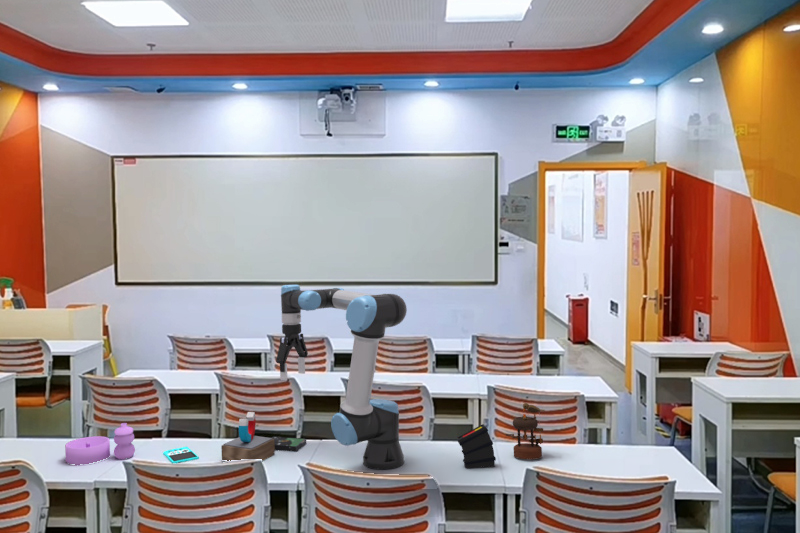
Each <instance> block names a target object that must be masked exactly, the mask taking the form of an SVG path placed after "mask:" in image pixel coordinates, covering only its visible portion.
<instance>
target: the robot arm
mask: <svg viewBox="0 0 800 533" xmlns="http://www.w3.org/2000/svg"><path fill="white" fill-rule="evenodd" d="M280 290H281V291H280V304H281V306H280V307H281V324H282V325H281V331H282V332H281V333H282V334H283V335H284V337H280V338H279V346H278V350H277V355H276V360H275V362H276V363H277V364H279V374H280V376H279V379H280V381H288V363H287V361H288V360H287V359H288V357H289V354H290V352H291V350H292V349H293V348H294V350H295V351H296V353H297V355H298V358H297V362H298V363H297V367H298V369H297V370H298V371H297V372H298V374H306V362H305V360H306V359H305V358H307V357H308V354H309V353H308V348H307V346H306V341H305V339H304V333H302V324H301V322H302V313H301V312H302V311H306V312H310V311H316V310H319V309H320V310H321V309H337V310H343V311H346V312H345V319H346V321H347V323H346V325H347V326H348V328H349V329H350V334H351V335H352V336H353V337H354V338H353V345H352V353H351V361H350V366H349V373H348V381H347V388H346V395H345V400H343V401H342V402H341V403H340V405H339V406H340V407H339V412H336V413H335V414H334V415H332V418H331V419H330V420H331V422H330V425H331V431H332V434H333V436H334V438H335V440H336V441H337V442H339V444H341V445H343V446H347V447H348V446H352V445H353V446H355V445H357V444H359V443H362V442H366V441H367V443H366V446H365V450H364V454H363V457H362V461H363V462H362V464H363V465H364V467H367V468H369V469H374V470H390V469H391V470H392V469H396V468H399V467H401V466H402V465H404V463H405V460H404V459H405V455H404V453H403V450H402V446H401V444H400V437H399V436H400V412H399V404H398V403H397V402H395V401H394V400H389V399H380V398H373V399H372V398H371V396H372V390H373V383H374V376H375V369H376V364H377V363H376V362H377V359H378V358H377V356H378V349H379V342H380V341H381V340H382V339H384V338H385V334H386V329H387V328H392V327H396V326H398V325H400V324H401V323H402V322H403V321H404V319H405V318H406V316H407V310H408V309H407V304H406V302H405V301H404V299H403V298H402V297H401V296H400V295H398V294H395V293H382V294H371V293H363V292H358V291H350V290H345V289H344V288H340V287H338V288H337V287H334V288H325V289H311V290H310V289H309V290H307V289H306V290H301V286H300V285H299V284H284V285H282V286H281V288H280Z"/></svg>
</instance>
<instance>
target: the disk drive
mask: <svg viewBox="0 0 800 533" xmlns="http://www.w3.org/2000/svg"><path fill="white" fill-rule="evenodd" d="M271 438H273V439H274V445H275V451H278V450H279V452H280V451H281V452H293V453H297V452H298V451H300V450H301V449H302V448H303V447H305V446H306V445H307V439H306V438H302V437H301V438H299V437H285V436H272V437H271Z"/></svg>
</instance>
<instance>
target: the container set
mask: <svg viewBox="0 0 800 533" xmlns="http://www.w3.org/2000/svg"><path fill="white" fill-rule="evenodd" d="M134 440H135V434H134V428H133V427H131V426H130V425H129V426H128V423H127V422H122V423H120V426H119V427H117V428H115V429H114V437H113V442H114V443H115V445H116V446H115V447H114V449H113V454H114V457H115V458H117V460H127V459H126V458H128V459H130V457H131V458H132V457H133V455H134V454H135V452H136V447H135V445H134V444H133V443H132V442H133V441H134ZM110 442H111V441H110V438H109V437H108V436H99V435H97V436H86V437H85V436H84V437H80V438H76V439H72V440H70V441H68V442H67V443H66V444H65V451H64V452H65V463H66V462H67V463H69V464H75V465H74V466H77V465H78V466H81V465H80V464H89V463H93V462H97V461H100V460H103V459H106V458H108V457H109V456H110V457H111V451H110V450H111V447H110V446H111V443H110ZM110 457H109V458H110ZM109 458H108V459H109ZM106 460H107V459H106ZM67 463H66V464H67ZM69 464H68V465H69ZM89 465H90V464H89Z"/></svg>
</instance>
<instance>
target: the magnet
mask: <svg viewBox="0 0 800 533" xmlns="http://www.w3.org/2000/svg"><path fill="white" fill-rule="evenodd" d="M256 423H257V420H256V414H255V411H254V412H253V411H247V414H246V418H239V421H238V437H240V440H241V441H242V442H251V441H252V439H253V437H254V436H255V432H256V426H257V425H256Z"/></svg>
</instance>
